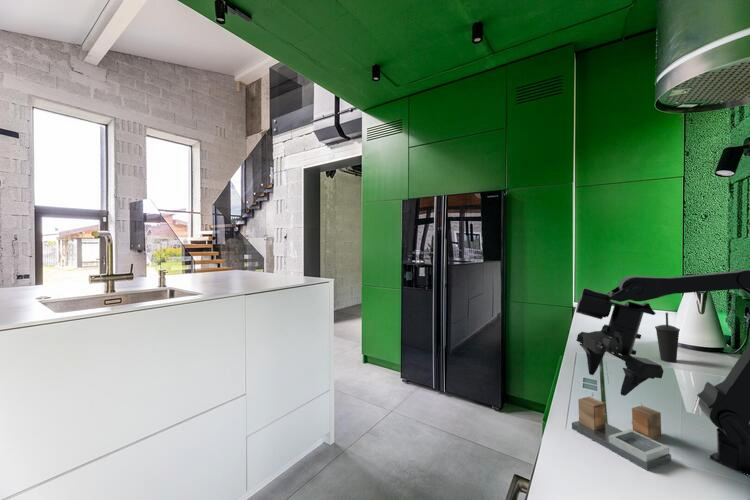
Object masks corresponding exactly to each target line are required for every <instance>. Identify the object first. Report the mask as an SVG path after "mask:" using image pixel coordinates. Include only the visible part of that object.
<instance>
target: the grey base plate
mask: <svg viewBox="0 0 750 500" xmlns="http://www.w3.org/2000/svg"><path fill="white" fill-rule="evenodd" d="M571 429H572V430H573V431H576V432H577V433H579V434H580V435H582V436H584V437H587V438H588V439H590V440H591V441H593V442H595V443H597V444H599V445H601V446H602V447H605V448H606V449H608V450H609V451H612V452H613V453H615V454H617V455H619V456H620V457H622V458H624V459H626V460H628V461H629V462H631V463H633V464H635V465H637V466H639V467H640V468H641V469H644V470H646V471H650V470H652V469H655V468H658V467H660V466H663V465H666V464H667V463H670V462H672V454H671V453H670V447H669V446H667V445H665V444H663V443H661V442H659V441H656V440H655V439H654V440H652V439H650V438H648V437H646V436H644V435H642V434H640V433H637V432H635V431H633V429H631V428H630V429H626V430H621V429H619V428H617V427H615V426H613V425H610V423H607V422H605V427H604V428H600V429H597V430H593V429H591V428H589V427H587V426H585V425H584V424H582V423H580V422H579V420H577V421H573V422H571Z"/></svg>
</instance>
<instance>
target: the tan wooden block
mask: <svg viewBox="0 0 750 500" xmlns="http://www.w3.org/2000/svg"><path fill="white" fill-rule="evenodd" d="M631 414H632V415H631V419H632V420H631V422H632V423H631V424H632V430H633V431H635V432H637V433H640V434H642V435H644V436H646V437H648V438H650V439H652V440H654V441H655V440H656V439H659V438H662V415H661V414H662V413H661V412H660V411H658V410H655V409H653V408H651V407H650V408H649V407H648V406H645V405H641V404H640V405H638V406H635V407H632V408H631Z"/></svg>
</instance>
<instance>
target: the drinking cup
mask: <svg viewBox="0 0 750 500" xmlns="http://www.w3.org/2000/svg"><path fill="white" fill-rule="evenodd" d="M654 328H655V331H656V338H657V343H658V350H659V351H658V352H659V357H660V358H659V359H660V361H663V362H667V363H677V360H678V359H677V358H678V346H679V335H680V332H681V329H680V328H678V327H676V326H674V325H670V324H669V312H665V324H659V325H655V326H654Z"/></svg>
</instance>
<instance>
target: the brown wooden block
mask: <svg viewBox="0 0 750 500" xmlns="http://www.w3.org/2000/svg"><path fill="white" fill-rule="evenodd" d="M605 405H606V403H605V402H603V401H600V400H598V399H596V398H594V397H591V396H586V397H581V398H578V421H579V422H580V423H582V424H584V425H585V426H587V427H589V428H591V429H593V430H597V429H600V428H604V427H605V423H606V406H605Z"/></svg>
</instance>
